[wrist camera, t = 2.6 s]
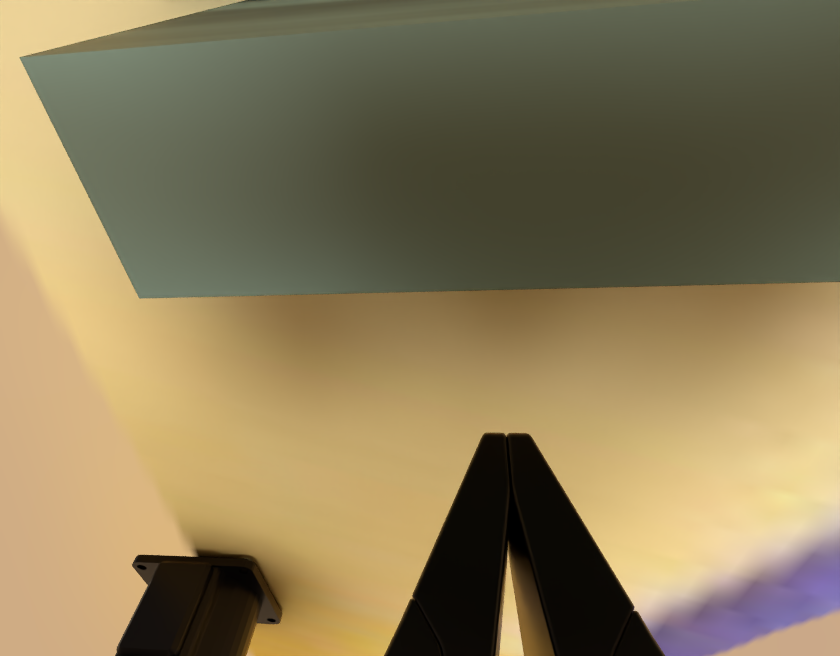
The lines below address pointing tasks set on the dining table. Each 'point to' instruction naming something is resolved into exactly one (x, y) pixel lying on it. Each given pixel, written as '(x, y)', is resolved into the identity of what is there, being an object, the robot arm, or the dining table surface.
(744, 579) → the dining table surface
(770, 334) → the dining table surface
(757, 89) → the grey-green rectangular block
